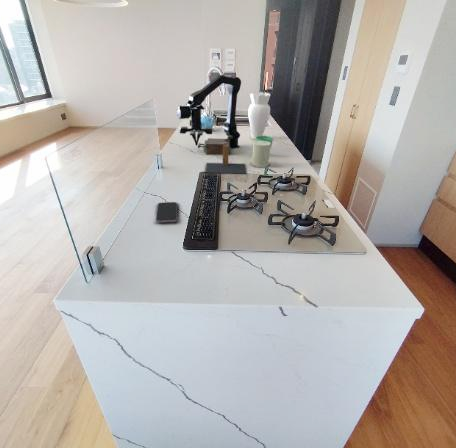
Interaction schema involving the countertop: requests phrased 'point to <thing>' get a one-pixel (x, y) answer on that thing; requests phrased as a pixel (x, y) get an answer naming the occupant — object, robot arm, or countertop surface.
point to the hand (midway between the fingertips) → (196, 145)
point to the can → (261, 153)
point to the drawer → (203, 146)
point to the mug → (265, 139)
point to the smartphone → (166, 212)
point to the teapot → (207, 122)
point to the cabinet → (216, 146)
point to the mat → (225, 168)
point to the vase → (258, 113)
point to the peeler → (225, 153)
